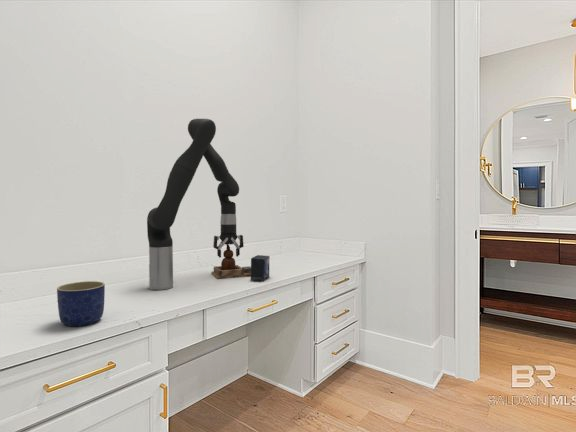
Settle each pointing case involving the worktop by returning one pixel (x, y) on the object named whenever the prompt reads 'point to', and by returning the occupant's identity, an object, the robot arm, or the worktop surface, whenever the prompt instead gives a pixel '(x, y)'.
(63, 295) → the planter
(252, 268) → the small box
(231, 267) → the wooden figurine
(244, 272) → the wooden tray
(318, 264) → the worktop surface
